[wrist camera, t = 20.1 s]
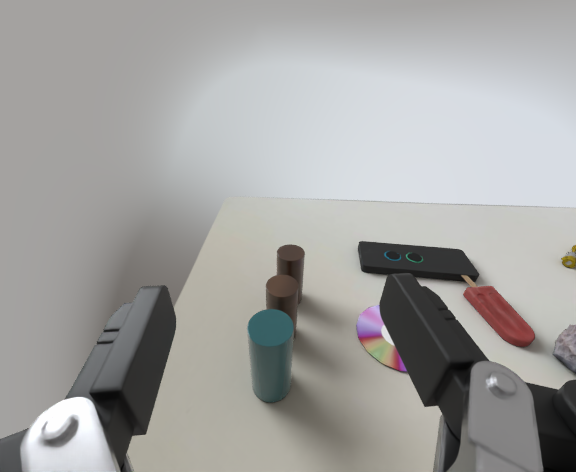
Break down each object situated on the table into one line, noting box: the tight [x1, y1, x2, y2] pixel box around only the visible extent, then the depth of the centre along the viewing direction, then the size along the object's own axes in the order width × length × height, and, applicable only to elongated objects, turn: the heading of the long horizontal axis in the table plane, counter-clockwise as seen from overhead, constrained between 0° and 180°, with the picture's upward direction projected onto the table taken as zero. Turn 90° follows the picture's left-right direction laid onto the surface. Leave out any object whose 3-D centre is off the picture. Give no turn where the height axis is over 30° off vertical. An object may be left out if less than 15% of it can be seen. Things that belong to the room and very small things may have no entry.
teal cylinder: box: [247, 309, 294, 403], centre depth 30 cm, size 5×5×10 cm
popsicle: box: [461, 275, 535, 347], centre depth 43 cm, size 4×2×15 cm
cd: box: [356, 305, 407, 371], centre depth 39 cm, size 11×11×1 cm
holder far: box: [277, 245, 305, 304], centre depth 42 cm, size 4×4×9 cm
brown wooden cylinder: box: [266, 275, 299, 340], centre depth 36 cm, size 4×4×9 cm
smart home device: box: [358, 241, 479, 282], centre depth 52 cm, size 8×2×20 cm
